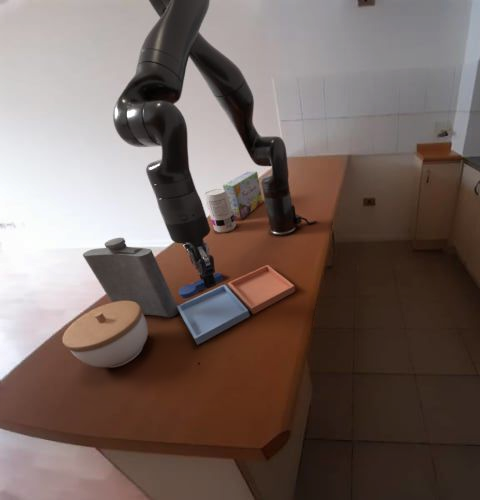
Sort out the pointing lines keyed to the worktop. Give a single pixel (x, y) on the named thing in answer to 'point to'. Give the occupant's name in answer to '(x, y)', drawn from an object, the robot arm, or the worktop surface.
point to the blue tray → (212, 313)
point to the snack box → (244, 194)
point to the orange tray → (261, 288)
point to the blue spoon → (197, 286)
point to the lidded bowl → (108, 334)
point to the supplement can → (220, 210)
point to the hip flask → (132, 277)
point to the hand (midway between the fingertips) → (209, 284)
